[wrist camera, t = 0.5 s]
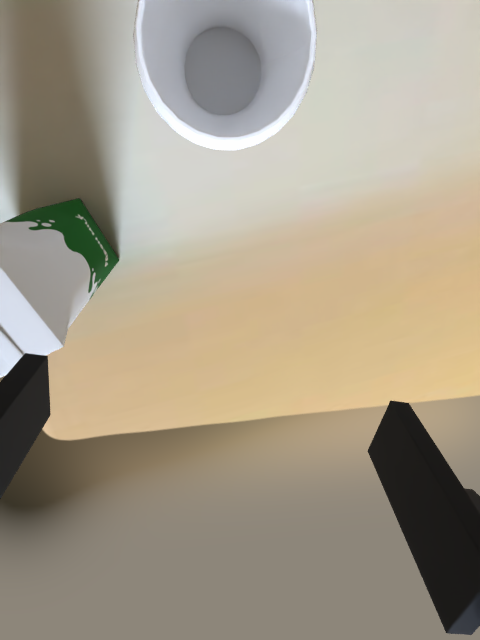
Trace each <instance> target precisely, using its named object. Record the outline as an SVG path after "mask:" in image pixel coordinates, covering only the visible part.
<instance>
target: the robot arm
mask: <svg viewBox="0 0 480 640" xmlns="http://www.w3.org/2000/svg"><path fill="white" fill-rule="evenodd" d="M49 416H50V397H49V376H48V356H44V355H37V354H29V353H25V354H24V355H23V356H22V357H21V358H20V360H19V361H18V362H17V363H16V364H15V365H14V367H13V368H12V369H11V370H10V371H9V372H8V374H7V375H6V376H5V377H4V378H3V380H2V381H1V382H0V499H1V497H2V495H3V494H4V492H5V490H6V489H7V487H8V485H9V484H10V482H11V480H12V479H13V477H14V475H15V474H16V472H17V470H18V469H19V466H20V465H21V463H22V461H23V460H24V458H25V457H26V455H27V453H28V452H29V450H30V448H31V446H32V445H33V443H34V441H35V440H36V438H37V436H38V435H39V433H40V431H41V430H42V428H43V426H44V425H45V423H46V421H47V420H48V418H49ZM368 453H369V455H370V458H371V460H372V462H373V464H374V467H375V469H376V471H377V474H378V476H379V478H380V481H381V483H382V485H383V488H384V490H385V492H386V495H387V497H388V499H389V502H390V504H391V506H392V508H393V511H394V513H395V515H396V518H397V520H398V522H399V525H400V527H401V529H402V532H403V534H404V536H405V539H406V541H407V543H408V546H409V548H410V550H411V552H412V555H413V557H414V559H415V562H416V564H417V566H418V569H419V571H420V573H421V576H422V578H423V580H424V582H425V585H426V587H427V590H428V592H429V594H430V596H431V599H432V601H433V603H434V606H435V608H436V610H437V612H438V615H439V617H440V619H441V622H442V624H443V626H444V629H445V631H446V633H451V634H467V635H472V634H473V632H475V630H476V629H477V628H478V627H479V626H480V496H479V495H478V494H477V493H476V492H475V491H474V490H472V489H464V488H463V486H462V485H461V483H460V482H459V480H458V479H457V477H456V475H455V474H454V473H453V471H452V469H451V468H450V466H449V465H448V464H447V462H446V460H445V459H444V457H443V455H442V454H441V452H440V451H439V449H438V448H437V446H436V445H435V443H434V442H433V440H432V439H431V437H430V435H429V434H428V432H427V431H426V429H425V428H424V426H423V425H422V423H421V422H420V420H419V418H418V417H417V416H416V414H415V412H414V411H413V409H412V408H411V406H410V405H409V403H404V402H396V401H390V403H389V405H388V408H387V410H386V412H385V414H384V416H383V419H382V421H381V423H380V425H379V427H378V429H377V432H376V434H375V436H374V438H373V440H372V443H371V445H370V447H369V449H368Z"/></svg>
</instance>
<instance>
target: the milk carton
mask: <svg viewBox="0 0 480 640" xmlns="http://www.w3.org/2000/svg"><path fill="white" fill-rule="evenodd" d="M118 261H119V259H118V257H117V255H116V254H115V252H114V251H113V249H112V248H111V246H110V245H109V243H108V241H107V240H106V238H105V237H104V235H103V234H102V232H101V231H100V229H99V227H98V226H97V224H96V223H95V221H94V220H93V218H92V217H91V215H90V213H89V212H88V210H87V209H86V207H85V206H84V204H83V203H82V201H81V199H80V198H78V199H75V200H71V201H66V202H62V203H58V204H54V205H50V206H46V207H42V208H38V209H35V210H32V211H29V212H26V213H24V214H21V215H19V216H17V217H14V218H12V219H10V220H7V221H5V222H3V223H1V224H0V377H2V376H4V375H7V374H8V372H9V371H10V370H11V369H12V368H13V367H14V365H15V364H16V363H17V362H18V361H19V360H20V358H21V357H22V356H23V355H24V354H25V353H29V354H37V355H44V356H45V355H47V354H49V353H51V352H53V351H55V350H57V349H60V348H62V347H63V346H64V343H65V339H66V335H67V331H68V328H69V327H70V325H71V324H72V323H73V321H74V320H75V319H76V317H77V316H78V314H79V313H80V312H81V310H82V309H83V308H84V306H85V305H86V304H87V302H88V301H89V300H90V298H91V297H92V296H93V294H94V293H95V291H96V290H97V289H98V287H99V286H100V285H101V283H102V282H103V281H104V279H105V278H106V277H107V276H108V274H109V273H110V272H111V270H112V269H113V268H114V266H115V265H116V264H117V262H118Z"/></svg>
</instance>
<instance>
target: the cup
mask: <svg viewBox="0 0 480 640" xmlns="http://www.w3.org/2000/svg"><path fill="white" fill-rule="evenodd" d="M133 37H134V48H135V58H136V65H137V69H138V72H139V75H140V78H141V81H142V84H143V87H144V90H145V92H146V94H147V96H148V97H149V99H150V101H151V102H152V104H153V106H154V108H155V109H156V111H157V113H158V114H159V115H160V116H161V117H162V118H163V119H164V120H165V121H166V122H167V123H168V124H169V126H170V127H171V128H172V129H173V130H174V131H175V132H177V133H178V134H180V135H182V136H183V137H185V138H186V139H188V140H190V141H191V142H193V143H195V144H198V145H201V146H204V147H208V148H211V149H214V150H240V149H243V148H247V147H250V146H254V145H257V144H259V143H261V142H263V141H264V140H266V139H268V138H269V137H271V136H272V135H274V134H276V133H277V132H278V131H279V130H280V129H281V128H282V127H283V126H284V125H285V124H286V123H287V122H288V121H289V120H290V119H291V118H292V117H293V115H294V114H295V112H296V110H297V109H298V107H299V105H300V103H301V102H302V100H303V98H304V96H305V95H306V93H307V90H308V86H309V83H310V80H311V76H312V73H313V70H314V64H315V51H316V38H317V27H316V20H315V12H314V5H313V0H138V4H137V10H136V18H135V26H134V33H133Z"/></svg>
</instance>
